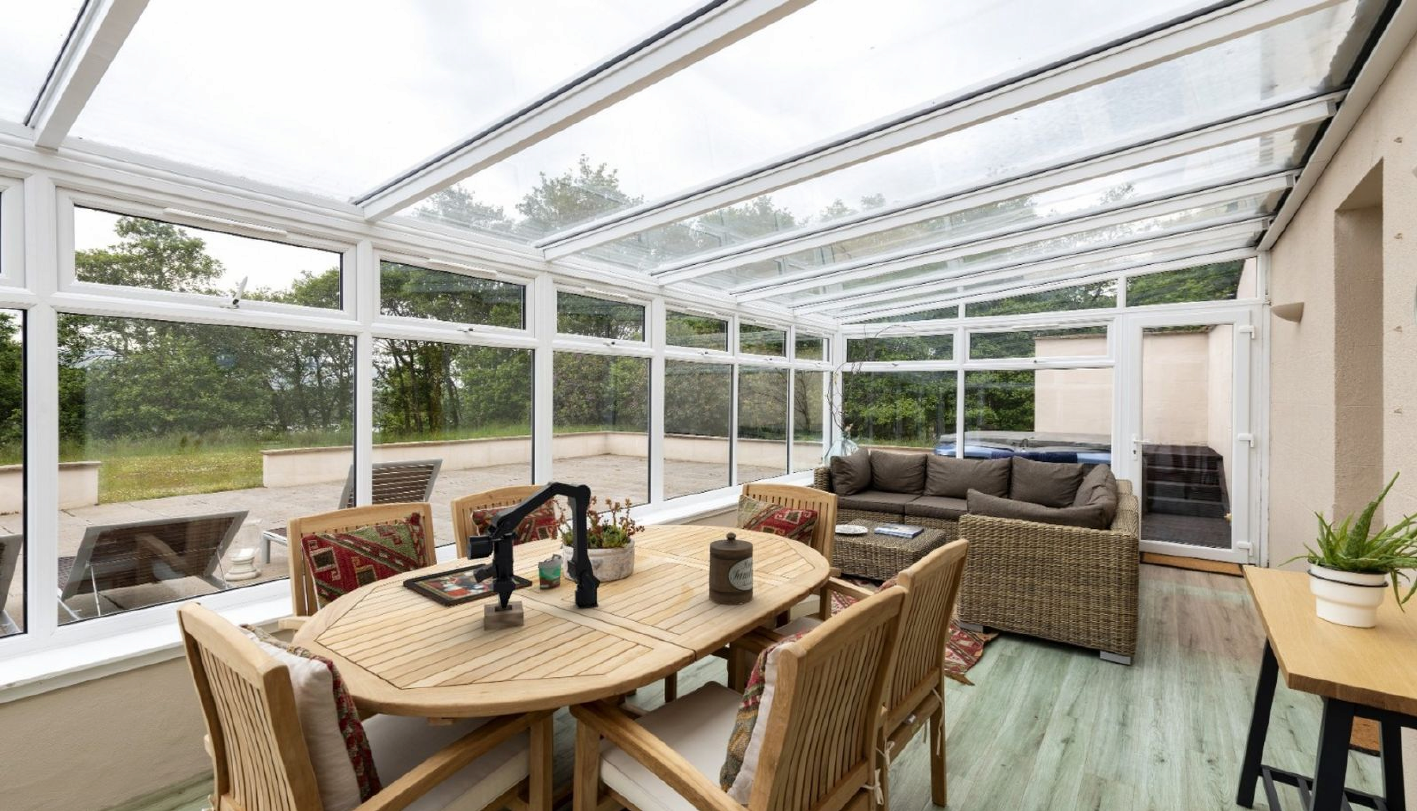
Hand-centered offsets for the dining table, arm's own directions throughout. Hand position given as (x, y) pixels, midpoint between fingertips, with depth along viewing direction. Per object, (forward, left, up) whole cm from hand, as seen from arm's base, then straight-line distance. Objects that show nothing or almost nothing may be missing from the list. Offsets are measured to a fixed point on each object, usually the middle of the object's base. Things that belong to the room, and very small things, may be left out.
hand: (503, 606), depth 188 cm
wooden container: (-73, +2, -5) cm, 73 cm away
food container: (-18, -31, -5) cm, 36 cm away
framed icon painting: (+11, -42, -5) cm, 44 cm away
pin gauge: (0, 0, -2) cm, 2 cm away
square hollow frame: (0, 0, -4) cm, 4 cm away
